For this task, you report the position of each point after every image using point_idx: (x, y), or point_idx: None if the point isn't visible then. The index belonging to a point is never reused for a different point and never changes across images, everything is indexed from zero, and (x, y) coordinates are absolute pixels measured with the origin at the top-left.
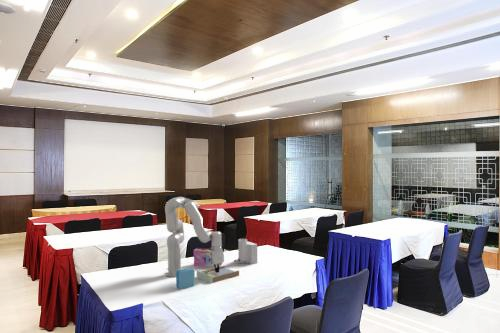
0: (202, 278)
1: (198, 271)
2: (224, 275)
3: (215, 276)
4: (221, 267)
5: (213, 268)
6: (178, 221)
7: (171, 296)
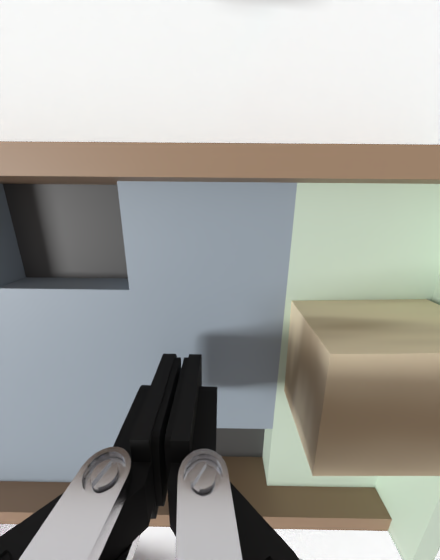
0: None
1: (438, 533)
2: (175, 148)
3: (288, 283)
4: (5, 499)
5: None
6: None
7: None
